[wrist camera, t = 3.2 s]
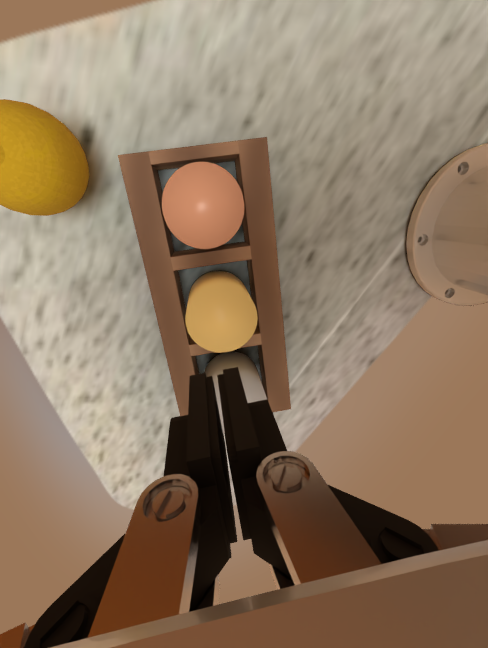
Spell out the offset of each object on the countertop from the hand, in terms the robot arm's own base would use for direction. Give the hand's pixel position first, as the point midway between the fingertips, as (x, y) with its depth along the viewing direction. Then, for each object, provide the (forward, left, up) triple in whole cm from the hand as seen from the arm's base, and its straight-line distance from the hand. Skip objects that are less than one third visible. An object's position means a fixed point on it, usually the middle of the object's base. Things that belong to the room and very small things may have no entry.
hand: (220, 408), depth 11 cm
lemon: (+8, -10, -16) cm, 20 cm away
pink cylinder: (-1, -7, -13) cm, 15 cm away
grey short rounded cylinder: (-1, +6, -13) cm, 15 cm away
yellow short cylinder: (-1, 0, -13) cm, 13 cm away
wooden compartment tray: (-1, 0, -15) cm, 15 cm away
